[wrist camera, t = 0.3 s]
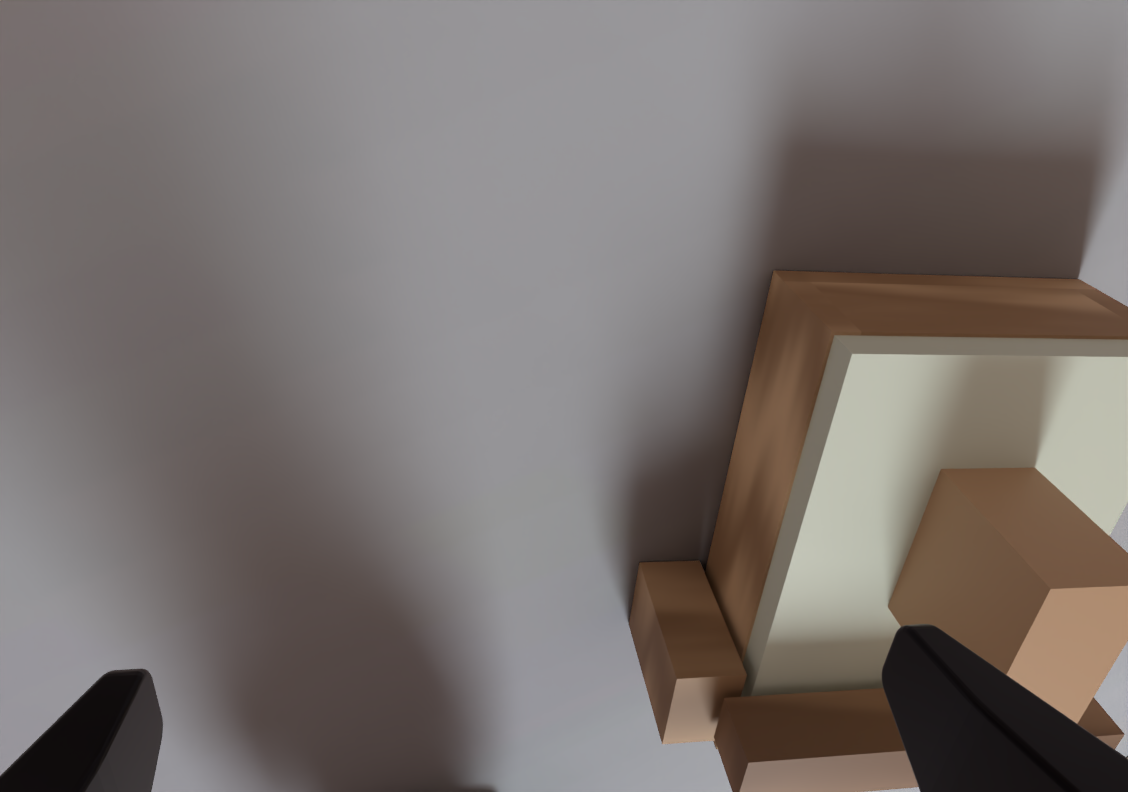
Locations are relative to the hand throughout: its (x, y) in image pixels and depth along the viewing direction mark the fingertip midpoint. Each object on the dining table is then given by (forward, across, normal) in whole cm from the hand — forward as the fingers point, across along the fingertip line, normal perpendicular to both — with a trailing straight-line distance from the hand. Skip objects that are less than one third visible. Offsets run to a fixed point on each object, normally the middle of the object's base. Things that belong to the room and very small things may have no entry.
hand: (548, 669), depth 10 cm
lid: (+10, -13, +8) cm, 19 cm away
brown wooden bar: (+9, -13, +13) cm, 21 cm away
